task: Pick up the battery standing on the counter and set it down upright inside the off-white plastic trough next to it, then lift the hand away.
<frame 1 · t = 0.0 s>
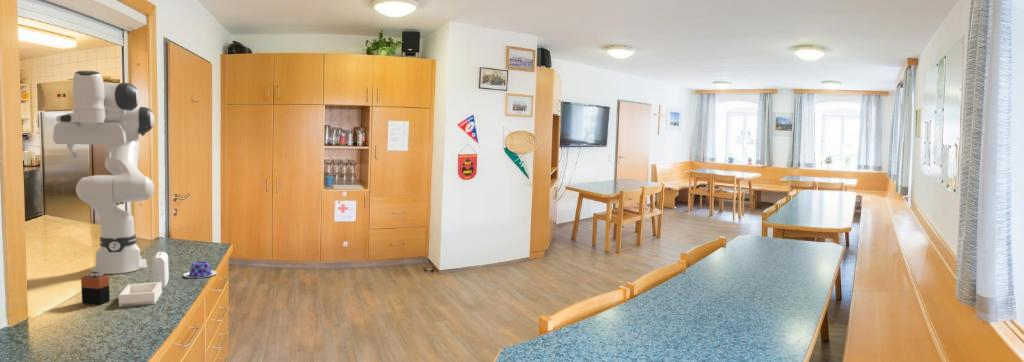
hand: (91, 157, 190), 48 cm above the counter, tool pointing down, fingers open, 8 cm apart
trough: (141, 299, 188), on the counter
pudding: (200, 276, 220), on the counter
battery: (96, 303, 183), on the counter
photo printer: (161, 285, 205), on the counter
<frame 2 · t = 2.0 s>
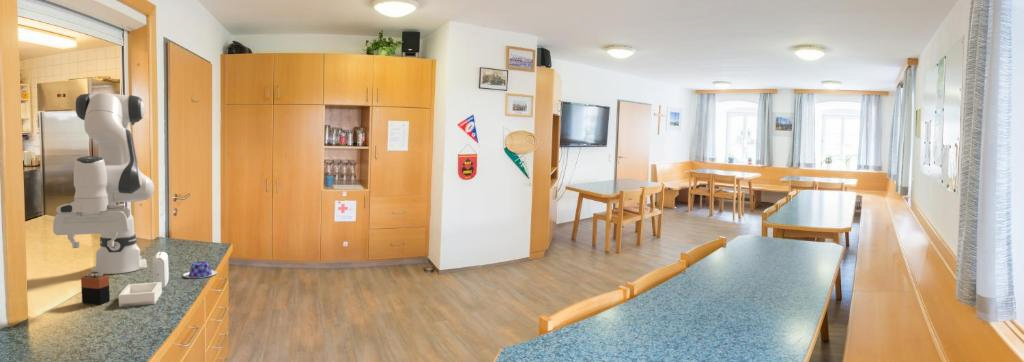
hand: (93, 246, 181), 19 cm above the counter, tool pointing down, fingers open, 8 cm apart
nothing on the counter moved.
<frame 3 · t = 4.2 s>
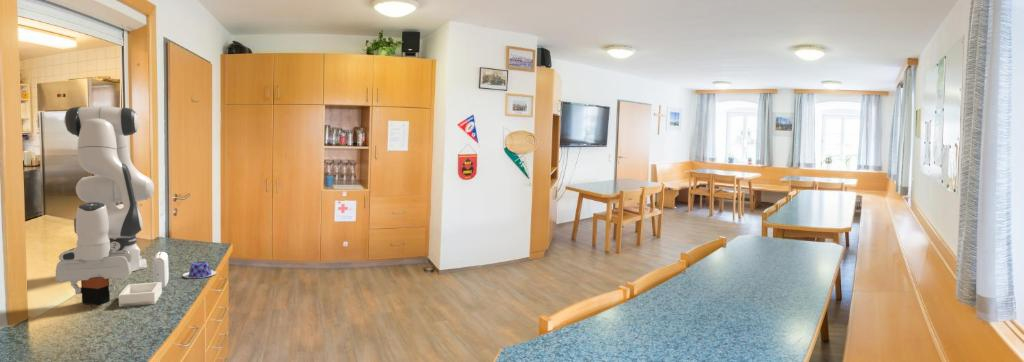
hand: (95, 292, 183), 4 cm above the counter, tool pointing down, fingers closed on battery, 8 cm apart
battery: (96, 303, 183), on the counter, touching gripper
everything else where it was.
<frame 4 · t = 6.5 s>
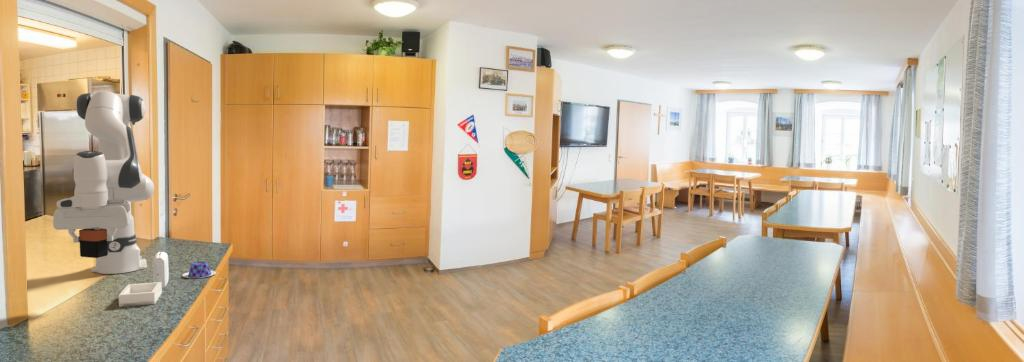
hand: (93, 241, 181), 21 cm above the counter, tool pointing down, fingers closed on battery, 8 cm apart
battery: (94, 256, 182), point 16 cm above the counter, touching gripper
everything else where it was.
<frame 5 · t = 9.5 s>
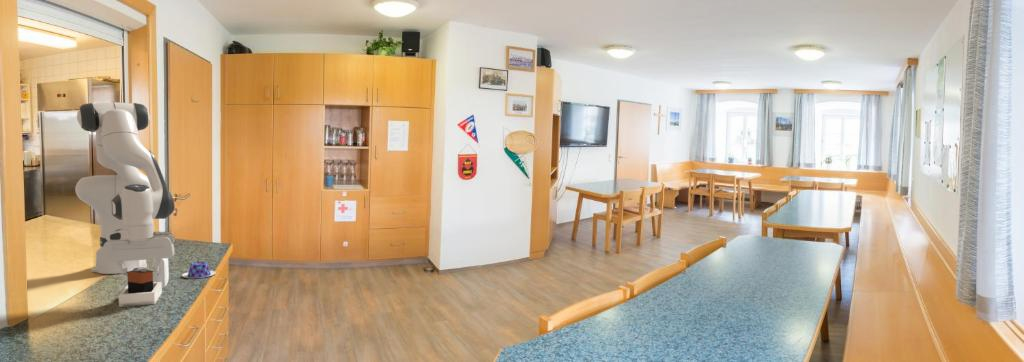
hand: (140, 272, 186), 10 cm above the counter, tool pointing down, fingers closed on battery, 8 cm apart
battery: (141, 297, 187), point 1 cm above the counter, touching gripper, trough
everything else where it was.
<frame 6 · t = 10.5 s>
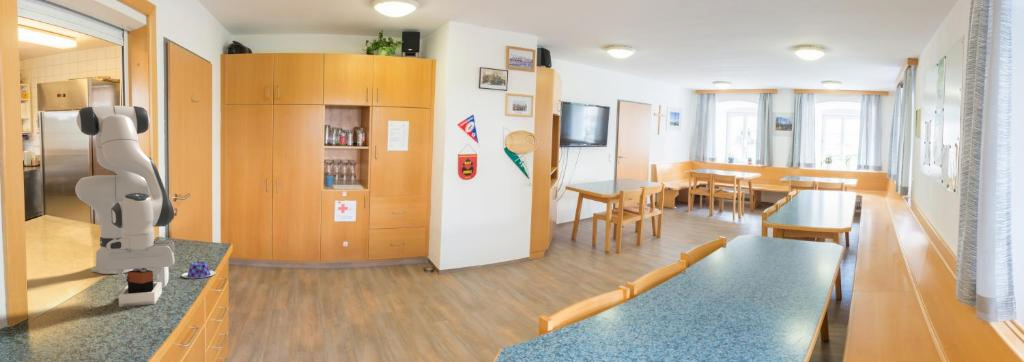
hand: (140, 280, 187), 7 cm above the counter, tool pointing down, fingers closed on battery, 7 cm apart
battery: (141, 297, 187), point 1 cm above the counter, touching gripper, trough
everything else where it was.
when the fingers open (7 cm above the counter, at t = 11.2 s): battery stays where it is, resting on trough.
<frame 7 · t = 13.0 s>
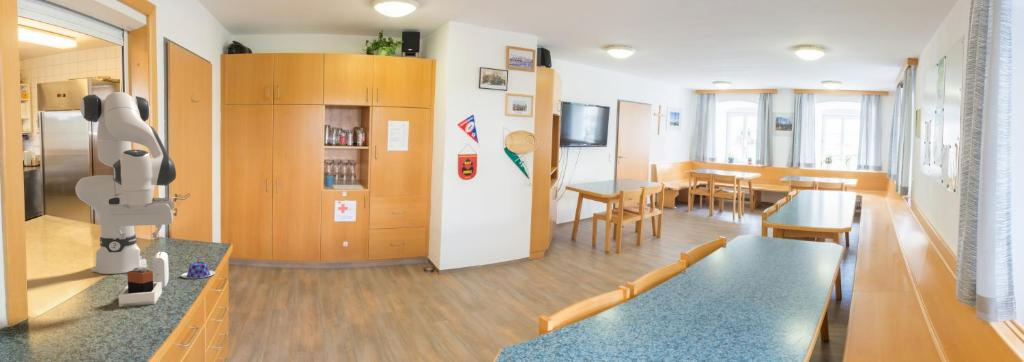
hand: (139, 238, 186), 21 cm above the counter, tool pointing down, fingers open, 8 cm apart
battery: (141, 297, 187), point 1 cm above the counter, touching trough
everything else where it was.
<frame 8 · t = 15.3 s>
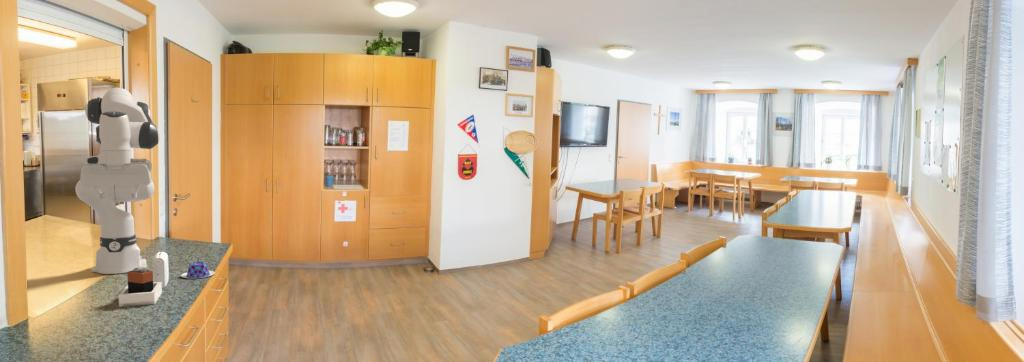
hand: (117, 197, 191), 34 cm above the counter, tool pointing down, fingers open, 8 cm apart
nothing on the counter moved.
at the end: battery 0.2 cm off-centre on the trough, point 0.8 cm above the trough's base; battery tilted 0°; the gripper is holding nothing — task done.
